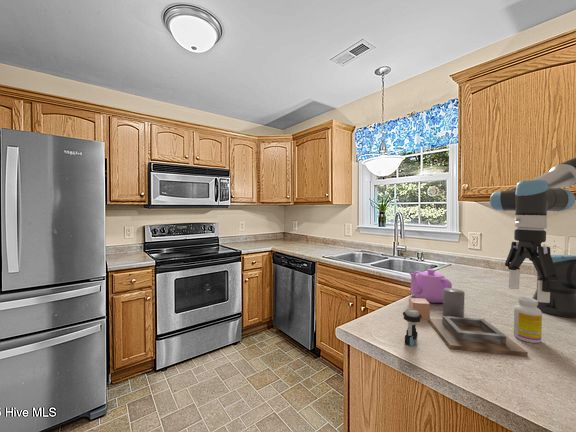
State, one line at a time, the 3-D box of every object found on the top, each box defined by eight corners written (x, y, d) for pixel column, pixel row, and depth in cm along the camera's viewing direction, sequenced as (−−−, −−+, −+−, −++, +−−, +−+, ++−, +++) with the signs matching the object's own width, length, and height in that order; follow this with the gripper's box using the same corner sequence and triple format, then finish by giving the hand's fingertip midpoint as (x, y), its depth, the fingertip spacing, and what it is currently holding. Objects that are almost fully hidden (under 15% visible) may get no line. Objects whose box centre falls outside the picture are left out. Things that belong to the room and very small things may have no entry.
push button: (408, 335, 87) (408, 305, 87) (425, 341, 84) (425, 310, 83) (399, 342, 83) (399, 311, 82) (417, 349, 79) (417, 316, 79)
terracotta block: (424, 313, 106) (425, 298, 106) (429, 319, 101) (429, 303, 100) (408, 312, 108) (409, 297, 108) (412, 318, 102) (412, 302, 102)
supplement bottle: (546, 345, 82) (548, 303, 81) (522, 342, 83) (523, 302, 83) (531, 334, 88) (532, 296, 88) (508, 332, 90) (509, 295, 89)
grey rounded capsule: (459, 313, 106) (459, 288, 106) (467, 320, 99) (467, 294, 99) (440, 312, 108) (440, 287, 107) (446, 319, 101) (447, 293, 101)
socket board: (489, 325, 95) (489, 315, 95) (527, 356, 75) (527, 343, 75) (428, 321, 99) (428, 311, 99) (450, 348, 79) (450, 336, 79)
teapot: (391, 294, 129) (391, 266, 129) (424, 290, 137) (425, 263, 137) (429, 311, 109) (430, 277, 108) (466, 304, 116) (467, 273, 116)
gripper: (494, 226, 98) (492, 283, 98) (545, 231, 73) (542, 307, 74) (517, 227, 96) (515, 285, 97) (578, 232, 72) (575, 310, 72)
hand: (527, 295), depth 85 cm, fingers open, 13 cm apart
